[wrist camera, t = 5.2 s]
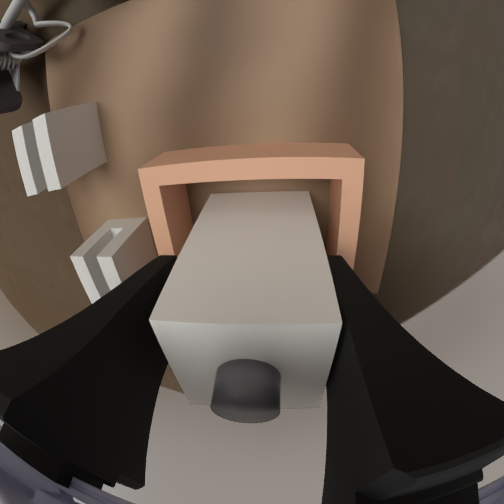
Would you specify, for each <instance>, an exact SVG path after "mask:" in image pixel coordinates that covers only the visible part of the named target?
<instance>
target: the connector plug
mask: <svg viewBox="0 0 504 504" xmlns="http://www.w3.org/2000/svg"><path fill="white" fill-rule="evenodd" d="M149 321H150V324H151V326H152V328H153V331H154V333H155V335H156V337H157V339H158V342H159V344H160V346H161V348H162V350H163V352H164V354H165V356H166V358H167V360H168V363H169V365H170V367H171V369H172V370H173V372H174V374H175V376H176V378H177V380H178V382H179V384H180V386H181V388H182V390H183V391H184V393H185V395H186V397H187V399H188V400H189V402H190V403H191V404H199V405H209V406H210V407H211V410H212V411H213V412H214V413H215V414H216V415H218V416H220V417H222V418H225V419H227V420H231V421H235V422H241V423H262V422H267V421H270V420H273V419H275V418H276V417H278V416H279V414H280V409H297V408H298V409H301V408H318V407H319V405H320V402H321V399H322V395H323V392H324V389H325V386H326V383H327V379H328V376H329V372H330V369H331V365H332V362H333V358H334V354H335V350H336V347H337V343H338V339H339V335H340V331H341V326H342V319H341V314H340V310H339V305H338V301H337V296H336V292H335V287H334V283H333V279H332V275H331V271H330V267H329V263H328V259H327V255H326V251H325V247H324V243H323V240H322V236H321V232H320V229H319V225H318V222H317V218H316V215H315V211H314V208H313V204H312V201H311V197H310V194H309V191H272V192H238V193H216V194H210V196H209V198H208V200H207V202H206V204H205V205H204V207H203V209H202V211H201V213H200V215H199V217H198V219H197V221H196V223H195V224H194V226H193V228H192V230H191V232H190V234H189V236H188V238H187V240H186V242H185V244H184V246H183V248H182V250H181V252H180V254H179V256H178V258H177V260H176V262H175V264H174V266H173V268H172V270H171V273H170V275H169V277H168V279H167V281H166V283H165V285H164V287H163V289H162V292H161V294H160V296H159V298H158V300H157V302H156V305H155V307H154V309H153V311H152V314H151V316H150V318H149Z"/></svg>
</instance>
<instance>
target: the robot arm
mask: <svg viewBox="0 0 504 504" xmlns="http://www.w3.org/2000/svg"><path fill="white" fill-rule="evenodd" d="M327 259H328V263H329V267H330V271H331V275H332V279H333V283H334V287H335V292H336V296H337V301H338V305H339V310H340V314H341V319H342V326H341V331H340V335H339V339H338V343H337V347H336V350H335V354H334V358H333V362H332V365H331V369H330V372H329V376H328V379H327V383H326V389H327V407H328V408H327V449H326V466H325V478H324V489H323V496H322V504H504V476H502V477H501V478H499V479H497V480H495V481H493V482H491V483H489V484H487V485H485V486H484V487H481V488H480V489H478V484H477V483H478V482H480V481H482V480H483V471H482V468H484V467H485V466H487V465H488V464H490V463H492V462H493V461H495V460H497V459H498V458H500V457H502V456H503V455H504V401H502V400H500V399H498V398H497V397H495V396H493V395H491V394H490V393H488V392H486V391H484V390H482V389H481V388H479V387H478V386H476V385H475V384H473V383H471V382H470V381H468V380H467V379H466V378H464V377H463V376H461V375H460V374H458V373H457V372H455V371H454V370H453V369H451V368H450V367H449V366H447V365H446V364H445V363H443V362H442V361H441V360H440V359H438V358H437V357H436V356H435V355H433V354H432V353H431V352H430V351H428V350H427V349H426V348H425V347H424V346H423V345H421V344H420V343H419V342H418V341H417V340H416V339H415V338H414V337H413V336H412V335H410V334H409V333H408V332H407V331H406V330H405V329H404V328H403V327H402V326H401V325H400V324H399V323H398V322H397V321H396V320H395V319H394V318H393V317H392V316H391V315H390V314H389V313H388V311H387V310H386V309H385V308H384V307H383V306H382V305H381V304H380V303H379V301H378V300H377V299H376V298H375V297H374V296H373V294H372V293H371V292H370V291H369V290H368V288H367V287H366V286H365V285H364V284H363V282H362V281H361V280H360V279H359V277H358V276H357V275H356V273H355V272H354V271H353V270H352V268H351V267H350V266H349V264H348V263H347V262H346V260H345V259H344V258H343V257H342V256H341V255H327ZM176 260H177V255H160V256H158V257H156V258H155V259H153V260H152V261H150V262H149V263H147V264H146V265H145V266H143V267H142V268H141V269H139V270H138V271H136V272H135V273H134V274H132V275H131V276H130V277H128V278H127V279H126V280H124V281H123V282H122V283H120V284H119V285H118V286H116V287H115V288H114V289H112V290H111V291H110V292H108V293H107V294H105V295H104V296H102V297H101V298H100V299H98V300H97V301H95V302H94V303H93V304H91V305H90V306H88V307H87V308H85V309H84V310H82V311H81V312H79V313H78V314H76V315H74V316H73V317H71V318H69V319H68V320H66V321H64V322H62V323H61V324H59V325H57V326H55V327H53V328H51V329H49V330H47V331H45V332H43V333H42V334H40V335H38V336H35V337H33V338H31V339H29V340H27V341H24V342H22V343H19V344H17V345H15V346H12V347H9V348H6V349H3V350H0V419H1V420H2V421H3V422H4V424H3V426H0V504H79V503H77V502H75V501H74V500H73V497H75V498H76V499H78V500H80V501H82V502H84V503H86V504H134V503H131V502H129V501H126V500H124V499H121V498H119V497H116V496H113V495H111V494H109V493H107V492H105V491H102V490H101V489H102V486H103V484H106V485H108V486H110V487H114V486H115V484H116V482H117V483H119V484H122V485H124V486H127V487H130V488H132V489H135V490H136V489H140V488H142V487H143V486H145V469H146V456H147V455H146V454H147V447H148V440H149V433H150V427H151V422H152V416H153V412H154V407H155V402H156V398H157V395H158V390H159V387H160V384H161V381H162V378H163V375H164V373H165V370H166V367H167V365H168V360H167V358H166V356H165V354H164V352H163V350H162V348H161V346H160V344H159V342H158V339H157V337H156V335H155V333H154V331H153V328H152V326H151V324H150V321H149V318H150V316H151V314H152V311H153V309H154V307H155V305H156V302H157V300H158V298H159V296H160V294H161V292H162V289H163V287H164V285H165V283H166V281H167V279H168V277H169V275H170V273H171V270H172V268H173V266H174V264H175V262H176Z"/></svg>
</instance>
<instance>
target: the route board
mask: <svg viewBox="0 0 504 504" xmlns="http://www.w3.org/2000/svg"><path fill="white" fill-rule="evenodd" d="M67 30H68V29H67ZM67 30H66V31H67ZM66 31H64V32H66ZM64 32H62V33H60V34H59V35H57V36H55V37H54V38H52V39H51V40H49V41H47V42H46V43H45V45H46V44H48V43H49V42H51V41H53V40H54V39H56V38H57V37H59V36H60V35H62V34H63V33H64ZM45 61H46V76H47V87H48V96H49V104H50V111H51V112H52V111H55V110H59V109H63V108H67V107H71V106H76V105H80V104H85V103H90V102H95V101H97V108H98V115H99V121H100V127H101V133H102V138H103V143H104V148H105V153H106V158H107V162H106V163H104V164H102V165H100V166H99V167H97V168H95V169H93V170H91V171H90V172H88V173H86V174H84V175H83V176H81V177H79V178H78V179H76V180H74V181H73V182H71V183H69V184H68V185H66V186H67V190H68V193H69V197H70V200H71V204H72V207H73V210H74V213H75V216H76V219H77V222H78V225H79V228H80V231H81V234H82V237H83V239H84V242H85V241H86V240H87V239H88V238H89V237H90V236H91V235H92V234H93V233H94V232H95V231H97V230H98V229H99V228H100V227H101V226H102V225H103V224H104V223H105V222H106V221H107V220H114V219H128V218H144V217H147V220H148V224H149V228H150V232H151V236H152V239H153V243H154V247H155V250H156V254H157V257H158V256H159V255H158V251H157V248H156V244H155V240H154V237H153V233H152V229H151V225H150V221H149V217H148V213H147V209H146V205H145V200H144V196H143V192H142V187H141V183H140V178H139V173H138V168H140V167H141V166H143V165H145V164H146V163H148V162H149V161H151V160H153V159H154V158H156V157H158V156H159V155H161V154H163V153H164V152H168V151H176V150H184V149H193V148H202V147H213V146H225V145H240V144H258V143H346V144H349V145H350V146H352V147H353V148H354V149H355V150H356V151H357V152H358V153H359V154H360V155H361V156H362V157H364V158H365V164H364V180H363V193H362V204H361V214H360V223H359V232H358V240H357V247H356V255H355V261H354V268H353V271H354V272H355V273H356V275H357V276H358V277H359V279H360V280H361V281H362V282H363V284H364V285H365V286H366V287H367V288H368V290H369V291H370V292H371V293H378V291H379V287H380V283H381V278H382V274H383V270H384V265H385V261H386V256H387V251H388V246H389V241H390V235H391V230H392V224H393V218H394V211H395V204H396V197H397V189H398V181H399V171H400V161H401V148H402V130H403V68H402V51H401V39H400V29H399V21H398V14H397V7H396V1H395V0H129V1H126V2H124V3H121V4H119V5H117V6H114V7H112V8H109V9H107V10H105V11H103V12H101V13H98V14H96V15H94V16H92V17H90V18H88V19H86V20H84V21H82V22H80V23H78V24H76V25H75V26H73V30H72V32H71V33H70V34H69V35H68V36H67V37H66V38H65V39H64V40H62V41H61V42H60V43H58V44H56V45H55V46H53V47H52V48H50V49H48V50H46V51H45ZM186 188H187V193H188V199H189V205H190V211H191V216H192V221H193V226H194V224H195V223H196V221H197V219H198V217H199V215H200V213H201V211H202V209H203V207H204V205H205V204H206V202H207V200H208V198H209V196H210V194H216V193H238V192H272V191H309V194H310V197H311V201H312V204H313V208H314V211H315V215H316V218H317V222H318V225H319V229H320V232H321V236H322V240H323V243H324V247H325V251H327V237H328V222H329V202H330V179H258V180H232V181H214V182H199V183H186Z"/></svg>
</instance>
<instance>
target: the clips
mask: <svg viewBox="0 0 504 504" xmlns="http://www.w3.org/2000/svg"><path fill="white" fill-rule="evenodd" d="M12 134H13V140H14V145H15V150H16V154H17V159H18V163H19V167H20V171H21V175H22V179H23V182H24V186H25V189H26V193H27V196H31V195H35V194H38V193H40V192H41V191H43V190H45V189H46V188H48V191H53V190H57V189H61V188H63V187H65V186H66V185H68V184H69V183H71V182H73V181H74V180H76V179H78V178H79V177H81V176H83V175H84V174H86V173H88V172H90V171H91V170H93V169H95V168H97V167H99V166H100V165H102V164H104V163H106V162H107V158H106V153H105V148H104V143H103V138H102V133H101V127H100V121H99V115H98V108H97V101H95V102H90V103H85V104H80V105H76V106H71V107H67V108H63V109H59V110H55V111H52V112H48V113H45V114H43V115H40V116H39V117H37V118H35V119H33V122H30V123H27V124H24V125H22V126H20V127H18V128H16V129H14V130H13V131H12ZM70 257H71V260H72V262H73V264H74V267H75V269H76V271H77V273H78V276H79V278H80V280H81V282H82V284H83V286H84V289H85V291H86V293H87V295H88V297H89V299H90V301H91V303H92V304H93V303H94V302H95V301H97V300H98V299H100V298H101V297H102V296H104V295H105V294H107V293H108V292H110V291H111V290H112V289H114V288H115V287H116V286H118V285H119V284H120V283H122V282H123V281H124V280H126V279H127V278H128V277H130V276H131V275H132V274H134V273H135V272H136V271H138V270H139V269H141V268H142V267H143V266H145V265H146V264H147V263H149V262H150V261H152V260H153V259H155V258H156V257H157V254H156V250H155V247H154V243H153V239H152V236H151V232H150V228H149V224H148V220H147V217H144V218H128V219H114V220H107V221H106V222H105V223H104V224H103V225H102V226H101V227H100V228H99V229H98V230H97V231H95V232H94V233H93V234H92V235H91V236H90V237H89V238H88V239H87V240H86V241H85V242H84V243H83V244H82V245H81V246H80V247H79V248H78V249H77V250H76V251H75V252H74V253H73V254H72V255H71V256H70Z"/></svg>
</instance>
